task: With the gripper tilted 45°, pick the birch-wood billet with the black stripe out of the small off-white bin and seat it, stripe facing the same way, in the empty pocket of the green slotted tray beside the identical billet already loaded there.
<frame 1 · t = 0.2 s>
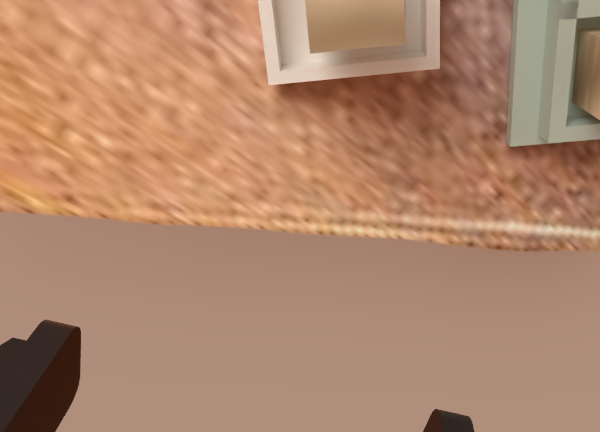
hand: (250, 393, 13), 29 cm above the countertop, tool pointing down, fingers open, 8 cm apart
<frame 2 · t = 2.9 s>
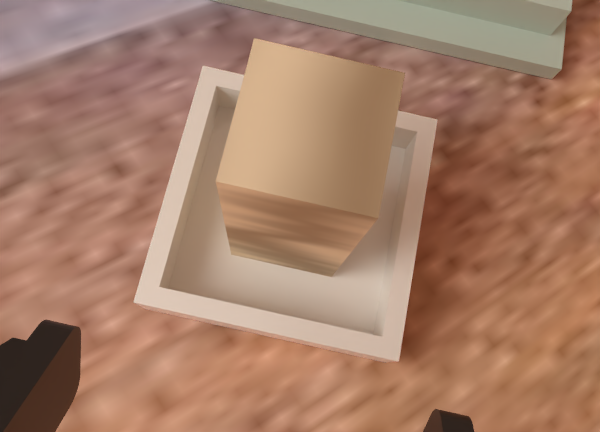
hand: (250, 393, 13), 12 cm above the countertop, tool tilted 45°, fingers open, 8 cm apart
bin: (291, 220, 26), on the countertop
billet: (292, 217, 26), resting on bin
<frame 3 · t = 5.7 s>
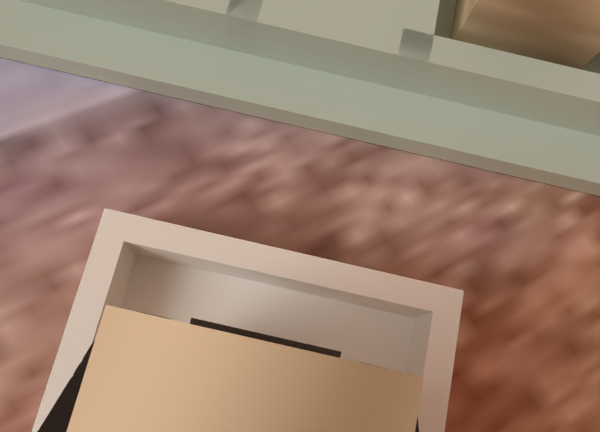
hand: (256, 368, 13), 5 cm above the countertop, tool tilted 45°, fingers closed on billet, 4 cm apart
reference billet: (516, 10, 21), point 1 cm above the countertop, touching green slotted tray
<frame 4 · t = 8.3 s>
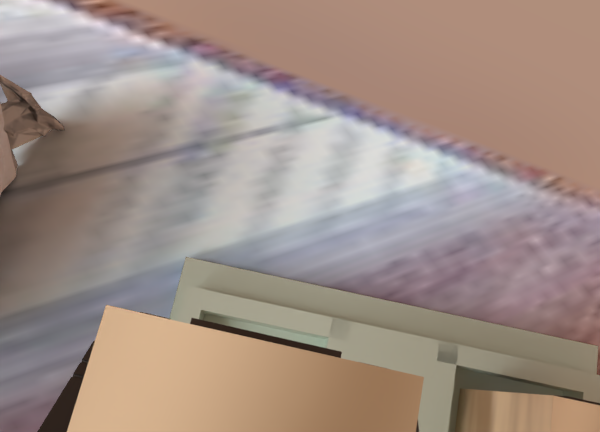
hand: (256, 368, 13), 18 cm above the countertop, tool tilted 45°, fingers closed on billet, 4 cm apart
green slotted tray: (370, 414, 30), on the countertop
when the fingers open (6 cm above the countertop, at t = 11.1 s): billet stays where it is, resting on green slotted tray.
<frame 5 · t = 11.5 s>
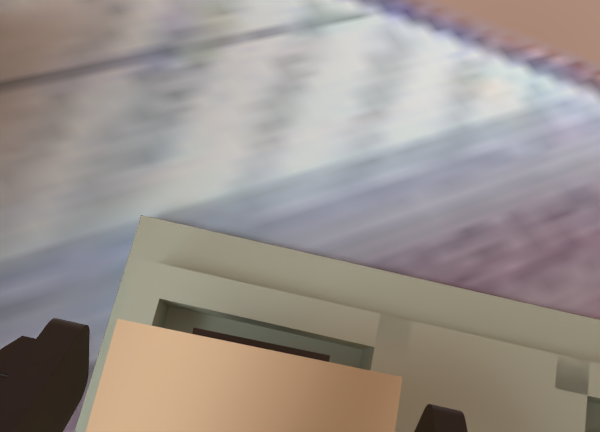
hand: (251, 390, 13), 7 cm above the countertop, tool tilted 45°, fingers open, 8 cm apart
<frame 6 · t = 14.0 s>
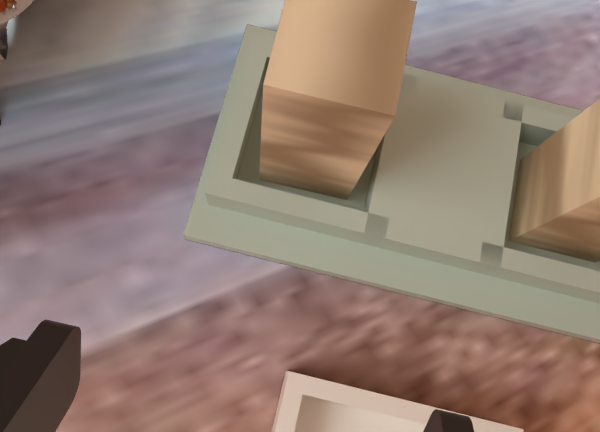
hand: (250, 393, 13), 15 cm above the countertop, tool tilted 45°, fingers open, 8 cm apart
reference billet: (556, 210, 29), point 1 cm above the countertop, touching green slotted tray
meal: (48, 2, 31), on the countertop
billet: (312, 149, 29), point 1 cm above the countertop, touching green slotted tray
green slotted tray: (428, 185, 30), on the countertop
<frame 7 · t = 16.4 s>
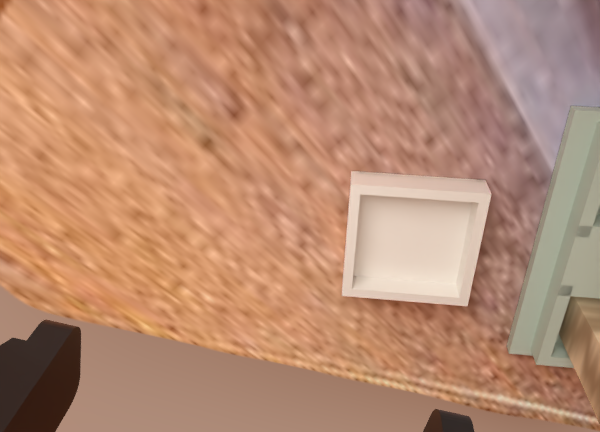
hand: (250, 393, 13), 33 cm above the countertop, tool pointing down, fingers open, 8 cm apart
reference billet: (592, 315, 49), point 1 cm above the countertop, touching green slotted tray
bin: (409, 232, 48), on the countertop
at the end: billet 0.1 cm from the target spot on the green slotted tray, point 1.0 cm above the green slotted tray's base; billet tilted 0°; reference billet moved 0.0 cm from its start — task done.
